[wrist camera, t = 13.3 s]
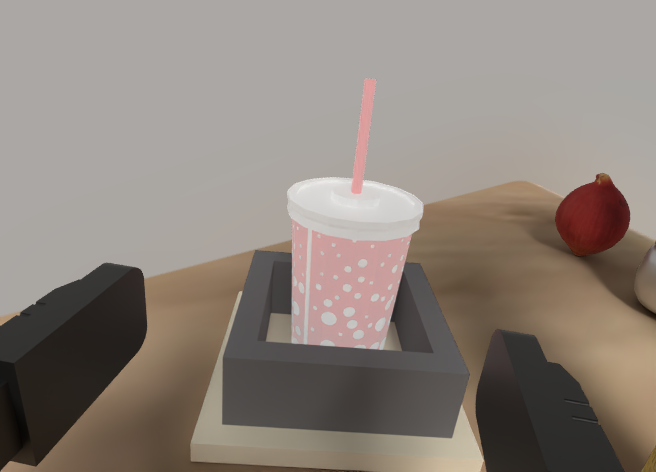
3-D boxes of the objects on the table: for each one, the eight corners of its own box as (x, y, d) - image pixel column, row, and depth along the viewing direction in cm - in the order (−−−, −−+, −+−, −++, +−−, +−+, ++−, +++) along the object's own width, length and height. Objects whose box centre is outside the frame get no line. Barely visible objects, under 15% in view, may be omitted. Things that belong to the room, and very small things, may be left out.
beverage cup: (416, 366, 24) (476, 89, 18) (335, 422, 20) (381, 89, 14) (334, 313, 28) (364, 72, 22) (252, 352, 24) (263, 67, 18)
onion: (587, 243, 46) (614, 167, 43) (628, 270, 41) (662, 185, 38) (534, 241, 45) (558, 163, 42) (569, 268, 40) (599, 181, 37)
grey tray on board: (420, 317, 30) (433, 257, 28) (478, 477, 19) (505, 394, 17) (238, 304, 30) (240, 241, 28) (191, 461, 19) (188, 373, 17)
